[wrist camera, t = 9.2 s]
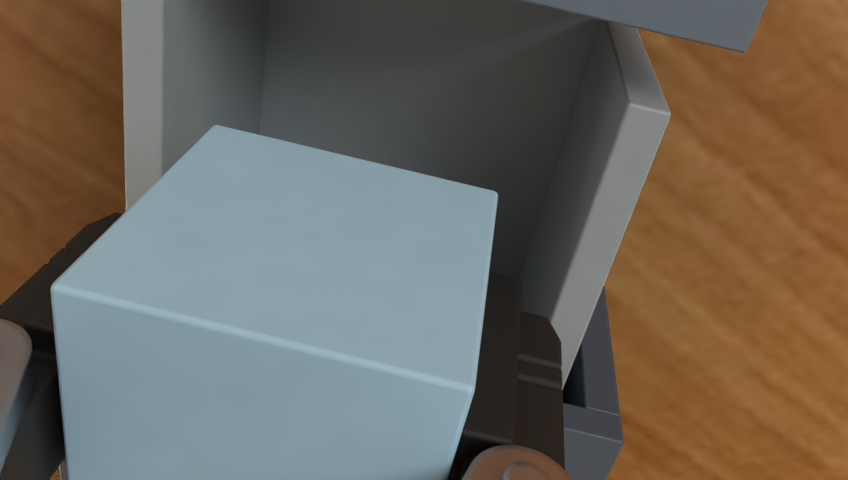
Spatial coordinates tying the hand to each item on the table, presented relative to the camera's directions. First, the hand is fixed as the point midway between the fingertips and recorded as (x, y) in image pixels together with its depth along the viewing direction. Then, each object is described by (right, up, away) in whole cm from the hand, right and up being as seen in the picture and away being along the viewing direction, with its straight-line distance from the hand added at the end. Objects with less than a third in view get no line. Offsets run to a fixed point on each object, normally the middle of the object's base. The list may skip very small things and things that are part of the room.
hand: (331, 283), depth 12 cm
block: (0, 0, 0) cm, 0 cm away
